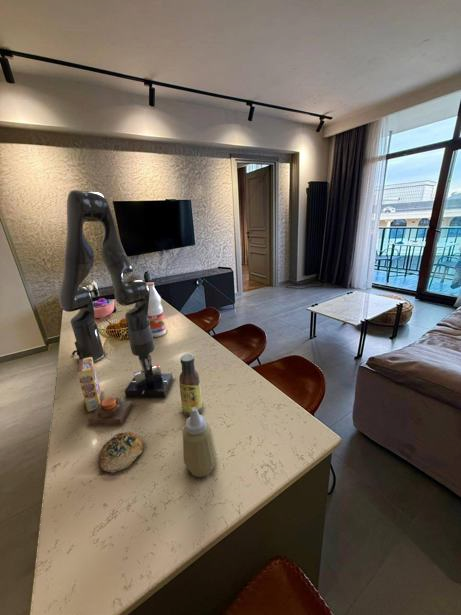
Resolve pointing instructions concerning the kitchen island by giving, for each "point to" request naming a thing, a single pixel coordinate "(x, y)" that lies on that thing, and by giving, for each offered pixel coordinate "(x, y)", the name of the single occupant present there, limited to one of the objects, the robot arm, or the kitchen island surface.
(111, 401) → the button
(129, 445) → the bread roll
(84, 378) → the candy box
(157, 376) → the silver flat block
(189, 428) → the squeeze bottle
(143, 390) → the tap base
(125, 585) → the kitchen island surface
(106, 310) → the soup bowl
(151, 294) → the fruit juice
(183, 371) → the sauce bottle
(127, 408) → the button block
